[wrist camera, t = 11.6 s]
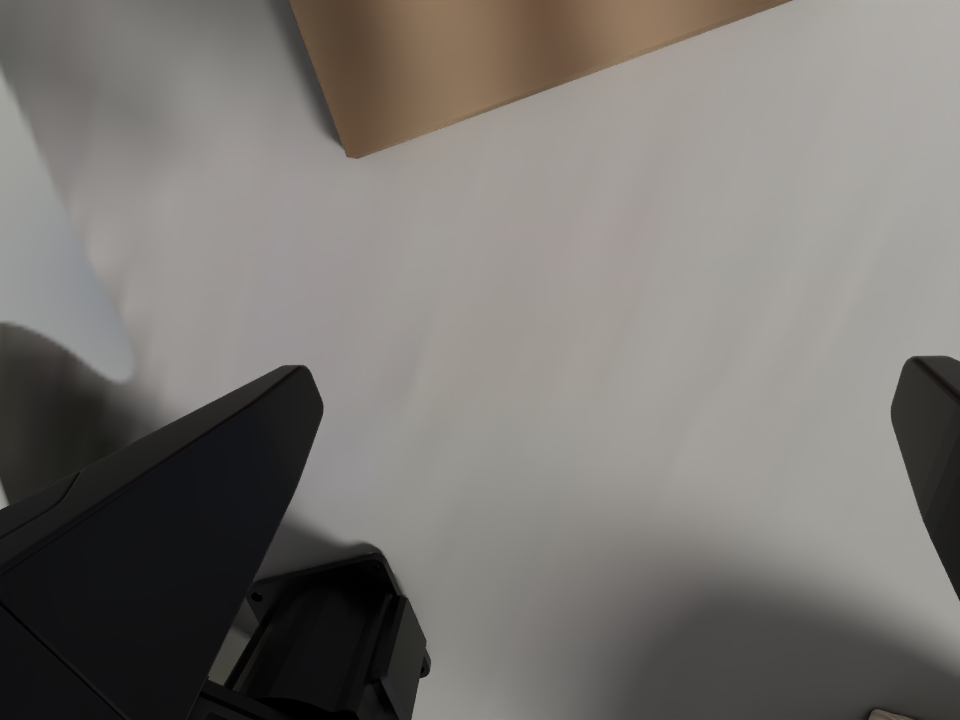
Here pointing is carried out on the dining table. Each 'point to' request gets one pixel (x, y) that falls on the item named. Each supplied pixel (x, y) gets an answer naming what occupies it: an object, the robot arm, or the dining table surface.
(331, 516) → the dining table surface
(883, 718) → the decorative jar
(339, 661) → the robot arm
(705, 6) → the walnut board
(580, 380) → the dining table surface
